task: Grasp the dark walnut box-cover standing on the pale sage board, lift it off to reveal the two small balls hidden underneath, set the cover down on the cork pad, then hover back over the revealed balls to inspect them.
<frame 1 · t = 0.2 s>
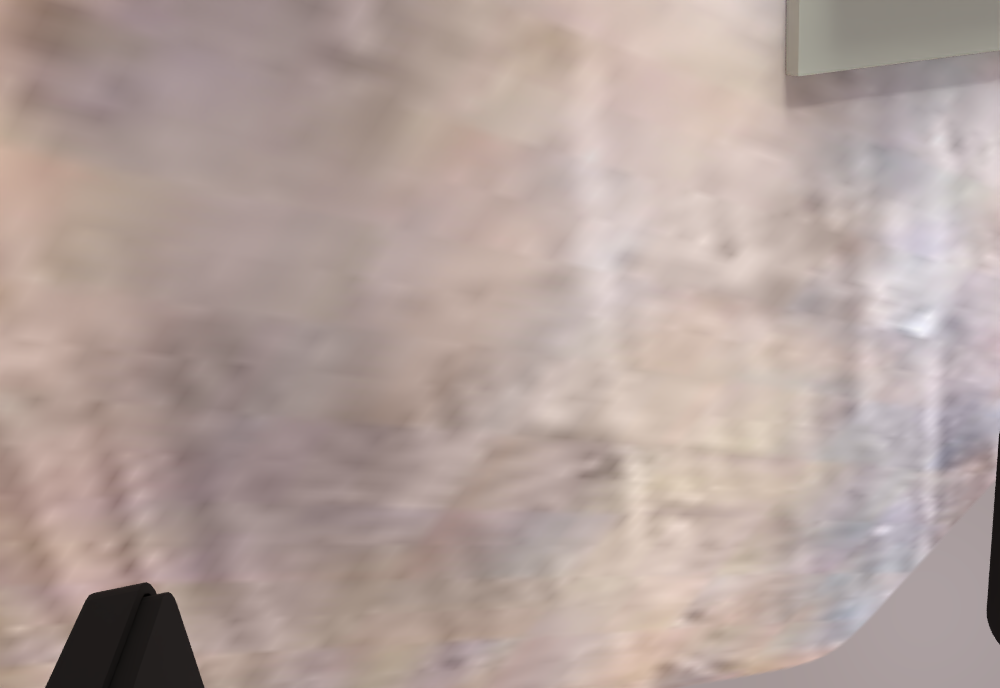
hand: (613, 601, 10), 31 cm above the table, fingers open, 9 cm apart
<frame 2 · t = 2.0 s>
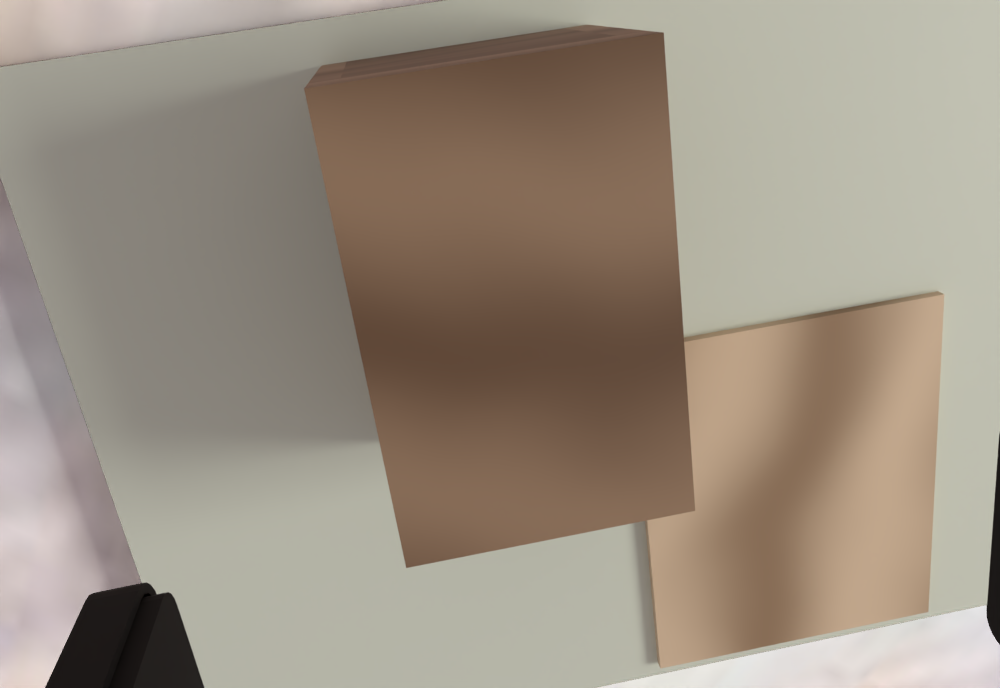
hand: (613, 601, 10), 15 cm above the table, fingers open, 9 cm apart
cork pad: (789, 488, 27), resting on sage board
sage board: (570, 373, 26), on the table
walnut cover: (486, 247, 23), point 1 cm above the table, touching sage board
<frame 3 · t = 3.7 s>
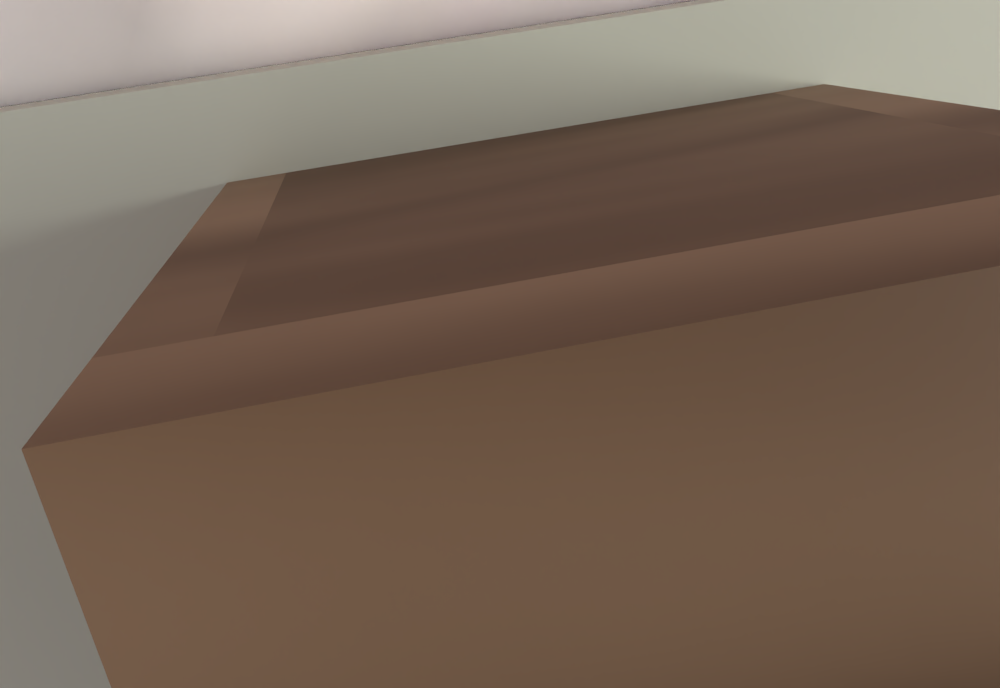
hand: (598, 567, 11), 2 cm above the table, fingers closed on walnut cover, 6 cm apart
walnut cover: (584, 535, 11), point 1 cm above the table, touching gripper, sage board
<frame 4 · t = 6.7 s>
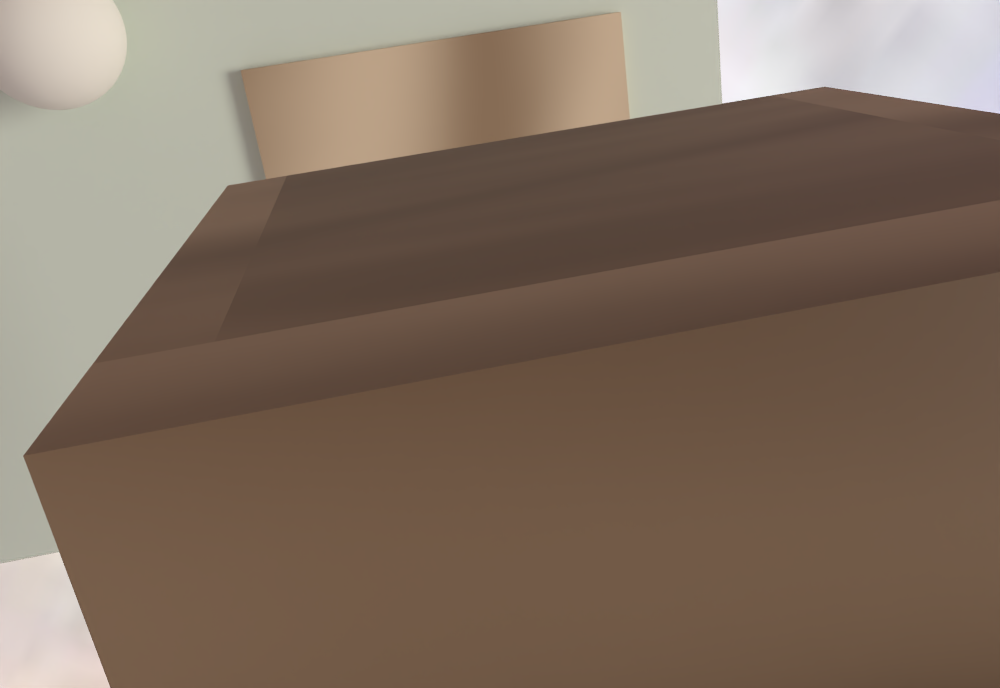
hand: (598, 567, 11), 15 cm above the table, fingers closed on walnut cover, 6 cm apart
cork pad: (468, 262, 23), resting on sage board
sage board: (196, 118, 22), on the table
cream ball: (70, 33, 20), point 1 cm above the table, touching sage board
walnut cover: (585, 537, 11), point 14 cm above the table, touching gripper
when the fingers open (3 cm above the table, at t = 9.6 s): walnut cover stays where it is, resting on cork pad.
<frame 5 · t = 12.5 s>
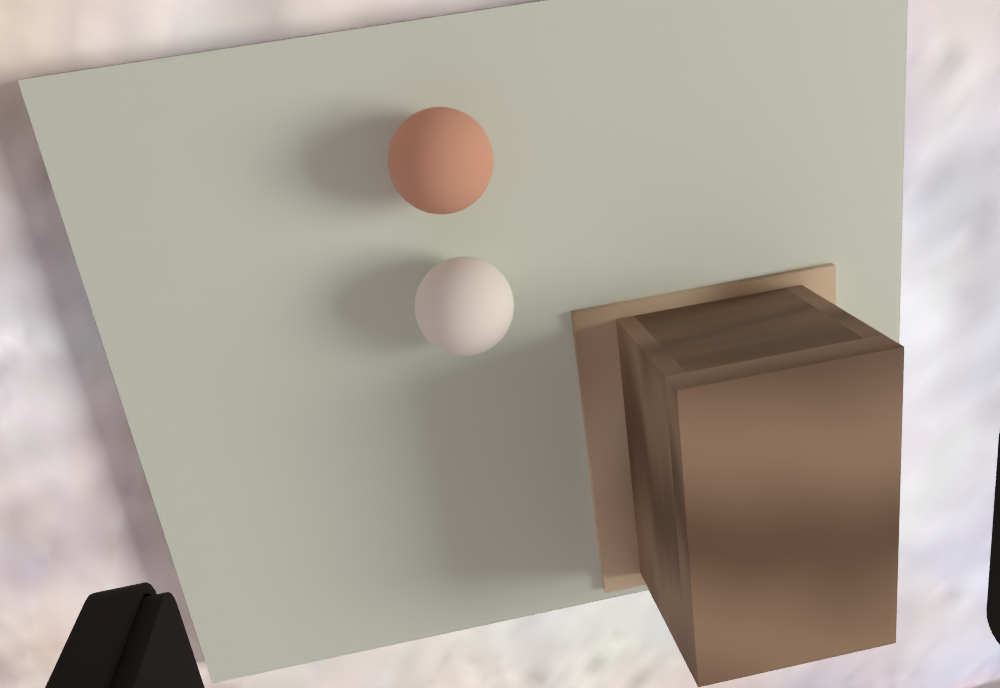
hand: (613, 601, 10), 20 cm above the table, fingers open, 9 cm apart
cork pad: (711, 433, 32), resting on sage board
sage board: (523, 335, 31), on the table
terracotta ball: (436, 153, 27), point 1 cm above the table, touching sage board
cream ball: (459, 292, 28), point 1 cm above the table, touching sage board
walnut cover: (717, 435, 31), point 1 cm above the table, touching cork pad
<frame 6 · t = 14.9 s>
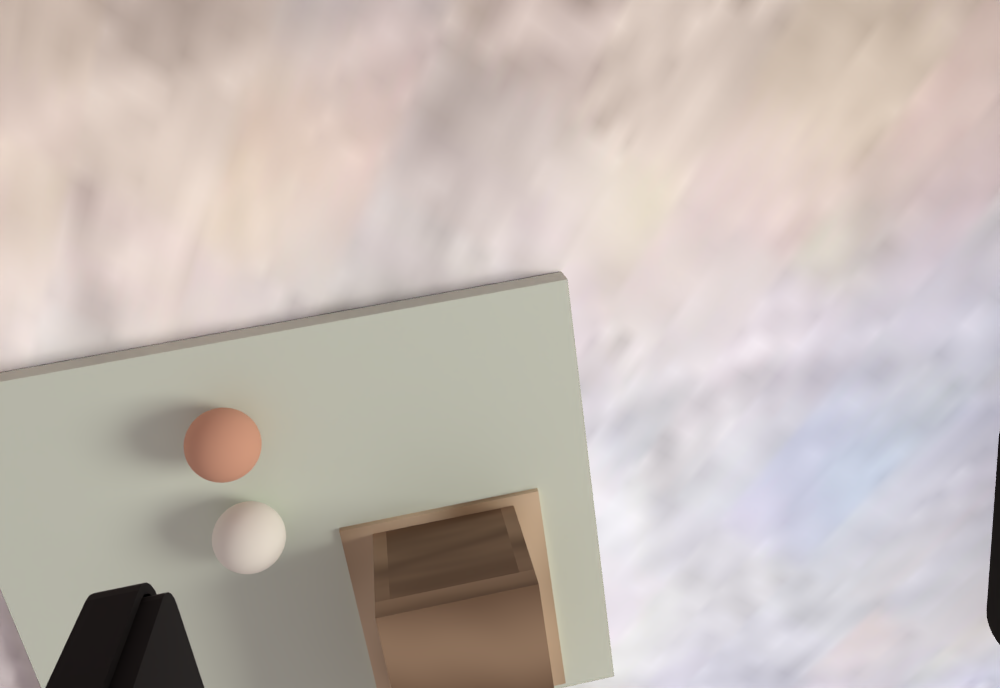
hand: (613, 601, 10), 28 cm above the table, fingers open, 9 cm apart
cork pad: (458, 607, 42), resting on sage board
sage board: (311, 539, 41), on the table
terracotta ball: (228, 428, 37), point 1 cm above the table, touching sage board
cream ball: (253, 518, 39), point 1 cm above the table, touching sage board
walnut cover: (460, 610, 42), point 1 cm above the table, touching cork pad
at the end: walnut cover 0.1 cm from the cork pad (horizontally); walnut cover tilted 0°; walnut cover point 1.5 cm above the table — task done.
